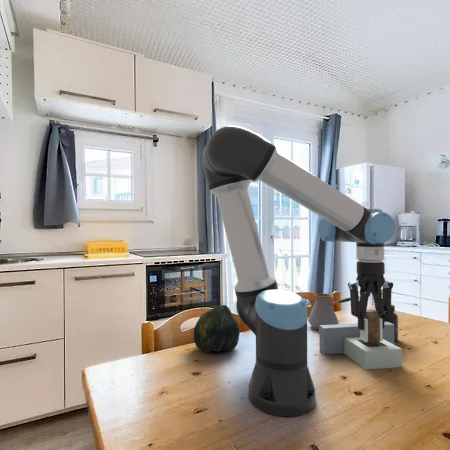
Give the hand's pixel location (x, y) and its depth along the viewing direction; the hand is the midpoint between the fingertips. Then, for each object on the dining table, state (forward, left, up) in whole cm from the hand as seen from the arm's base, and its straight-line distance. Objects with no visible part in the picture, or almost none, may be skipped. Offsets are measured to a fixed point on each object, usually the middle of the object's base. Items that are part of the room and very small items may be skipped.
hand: (371, 339), depth 90 cm
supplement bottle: (+16, +15, -6) cm, 22 cm away
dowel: (0, 0, -3) cm, 3 cm away
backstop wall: (0, +7, -6) cm, 9 cm away
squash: (-44, +16, -6) cm, 47 cm away
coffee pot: (+2, +26, -6) cm, 26 cm away
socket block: (0, 0, -6) cm, 6 cm away
